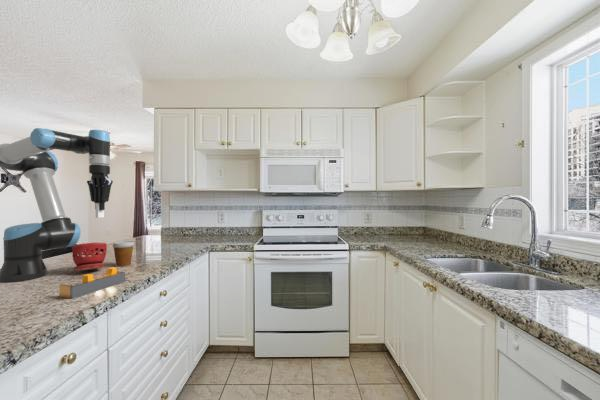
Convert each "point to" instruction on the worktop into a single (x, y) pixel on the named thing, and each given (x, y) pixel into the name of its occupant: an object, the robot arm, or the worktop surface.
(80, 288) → the keeper bracket
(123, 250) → the disposable coffee cup
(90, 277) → the pipe clamp
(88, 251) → the plant pot
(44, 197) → the robot arm
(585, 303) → the worktop surface
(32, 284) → the worktop surface
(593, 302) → the worktop surface
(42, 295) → the worktop surface
